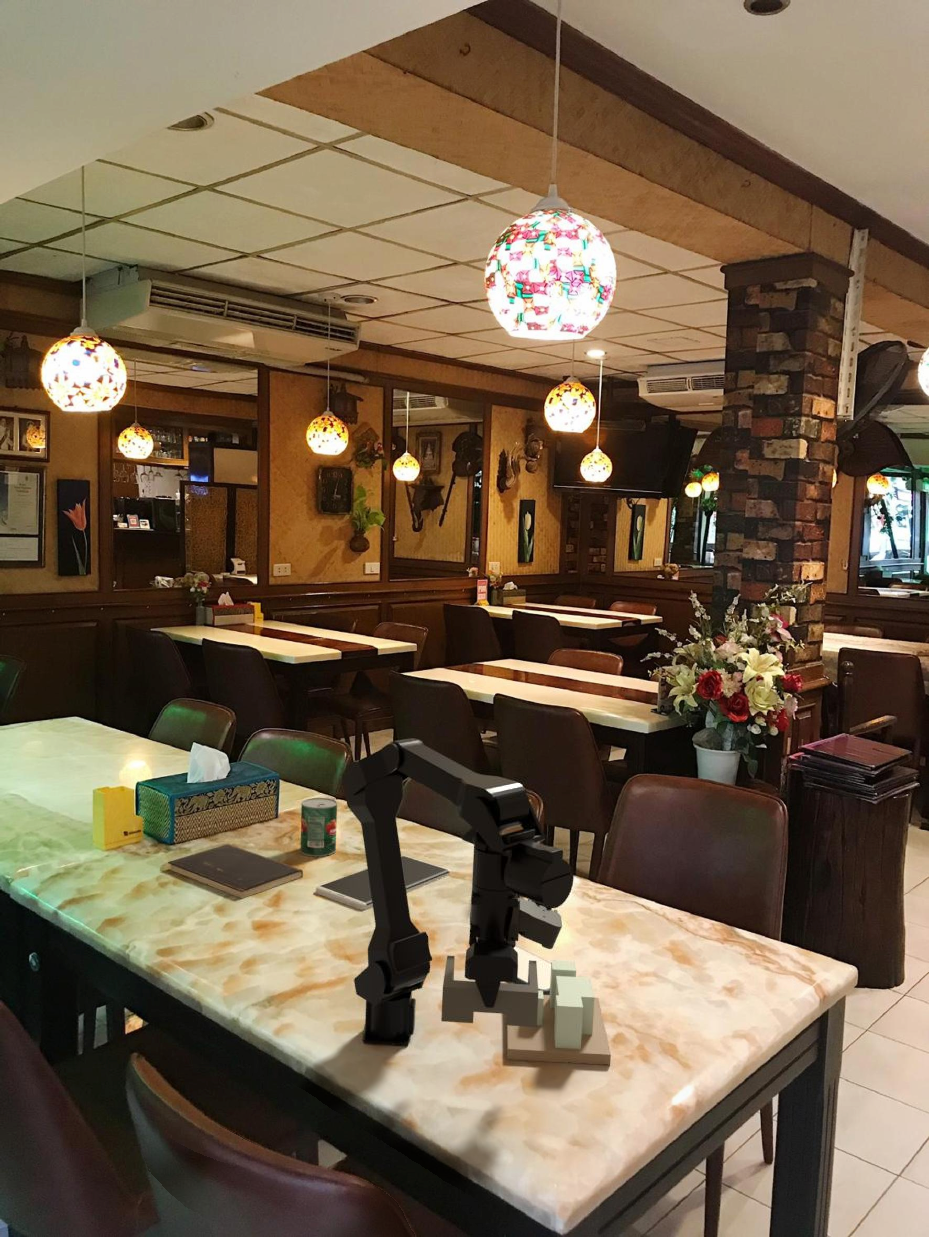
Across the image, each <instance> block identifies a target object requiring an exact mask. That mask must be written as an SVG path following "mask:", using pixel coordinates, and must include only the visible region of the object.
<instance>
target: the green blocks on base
mask: <svg viewBox="0 0 929 1237" xmlns="http://www.w3.org/2000/svg"><path fill="white" fill-rule="evenodd" d="M550 963H551V979H550V995H543V991H538V1012H537V1027H525V1026H509V1025H506V1045H507V1046H506V1047H507V1048H506V1051H507V1052H506V1054H507V1060H510V1059H511V1061H513V1060H514V1061H515V1060H516V1061H527V1062H528V1061H530V1062H544V1063H545V1062H546V1063H547V1062H548V1063H562V1062H564V1063H566V1064H569V1063H568V1062H571V1063H570V1064H580V1063H588V1064H587V1065H597V1064H608V1065H607V1066H611V1055H612V1053H611V1049H610V1045H609V1041H608V1035H607V1031H606V1027H605V1023H604V1017H603V1013H602V1008H601V1004H600V1001H599V1000H600V999H599V998H598V997H595V993H594V989H593V984H592V979H591V977H582V976H581V977H580V976H577V967H576V962H575V961H573V960H551V961H550ZM564 1063H563V1064H564Z"/></svg>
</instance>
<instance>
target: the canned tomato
mask: <svg viewBox="0 0 929 1237" xmlns="http://www.w3.org/2000/svg"><path fill="white" fill-rule="evenodd" d="M300 805H301V810H300V811H301V812H300V813H301V814H300V819H301V820H300V849H299V851H300V852H299V853H301V855H304V856H307V857H312V856H313V858H316V857H317V856H319V857H317V858H320V857H321V856H323V857H328V856H327V855H329V856H332V855H333V853H334V854H335V853H336V852H337V848H336V847H337V830H338V828H337V823H338V822H337V819H338V801H337V800H335V799H332V798H327V797H311V798H307V799H304V800H302V801H301V804H300ZM331 854H332V855H331ZM314 856H315V857H314Z"/></svg>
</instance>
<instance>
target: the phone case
mask: <svg viewBox="0 0 929 1237" xmlns="http://www.w3.org/2000/svg"><path fill="white" fill-rule="evenodd" d="M514 949H515V950H516V952H517V953H518V977H517V981H515V982H511V984H525V985H528V969H529V960H531V961H536V963H537V978H538V991H543V995H550V979H551V962H549V961H548V960H546V959H543V958H542V957H539V956H537V955H535V954H533V953H531V952H529V951H527V950H525V949H523V948H521V947H519V946H517V945H516V946H515V947H514Z"/></svg>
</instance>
